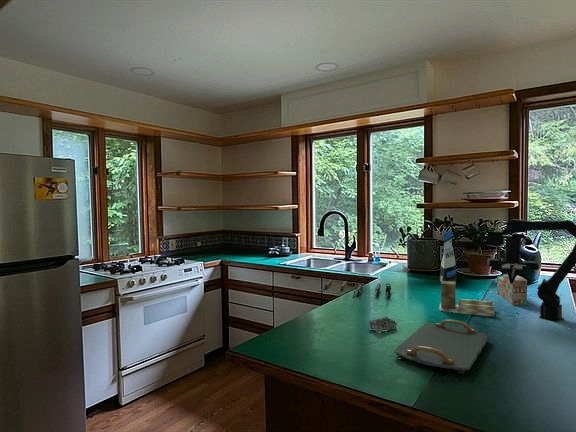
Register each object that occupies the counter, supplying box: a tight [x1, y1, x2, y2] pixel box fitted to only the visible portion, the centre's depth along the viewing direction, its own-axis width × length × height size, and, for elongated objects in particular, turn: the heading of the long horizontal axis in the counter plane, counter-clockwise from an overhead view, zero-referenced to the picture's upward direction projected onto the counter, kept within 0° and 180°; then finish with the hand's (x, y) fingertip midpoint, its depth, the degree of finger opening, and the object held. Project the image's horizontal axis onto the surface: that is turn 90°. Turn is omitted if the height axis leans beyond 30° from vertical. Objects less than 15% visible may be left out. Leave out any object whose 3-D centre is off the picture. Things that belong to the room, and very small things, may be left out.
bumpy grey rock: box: [367, 316, 399, 333], centre depth 147 cm, size 11×8×4 cm
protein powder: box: [439, 229, 458, 283], centre depth 229 cm, size 10×24×30 cm, turn 147°
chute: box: [438, 298, 496, 317], centre depth 168 cm, size 22×10×4 cm, turn 66°
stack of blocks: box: [496, 274, 528, 307], centre depth 185 cm, size 21×6×12 cm, turn 168°
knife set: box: [318, 279, 392, 300], centre depth 198 cm, size 35×33×8 cm
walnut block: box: [440, 281, 457, 309], centre depth 171 cm, size 6×6×11 cm
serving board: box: [393, 319, 490, 376], centre depth 126 cm, size 39×23×6 cm, turn 142°
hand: (511, 283), depth 163 cm, fingers closed
